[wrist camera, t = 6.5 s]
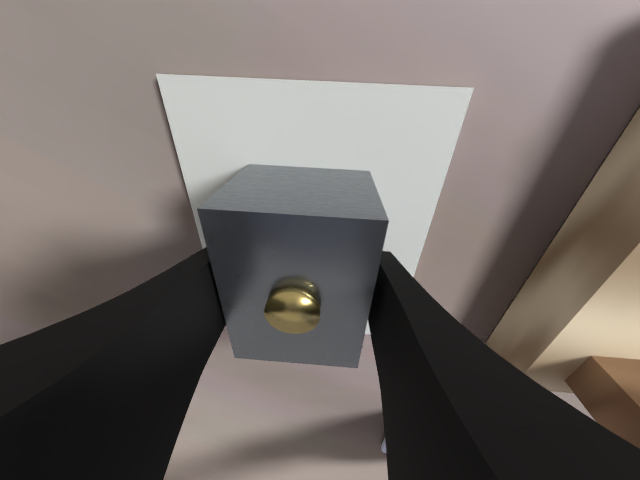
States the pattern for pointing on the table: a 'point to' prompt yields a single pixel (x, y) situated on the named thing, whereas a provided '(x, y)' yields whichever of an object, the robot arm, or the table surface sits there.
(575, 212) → the body
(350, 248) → the lever cap
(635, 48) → the table surface
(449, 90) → the felt mat
